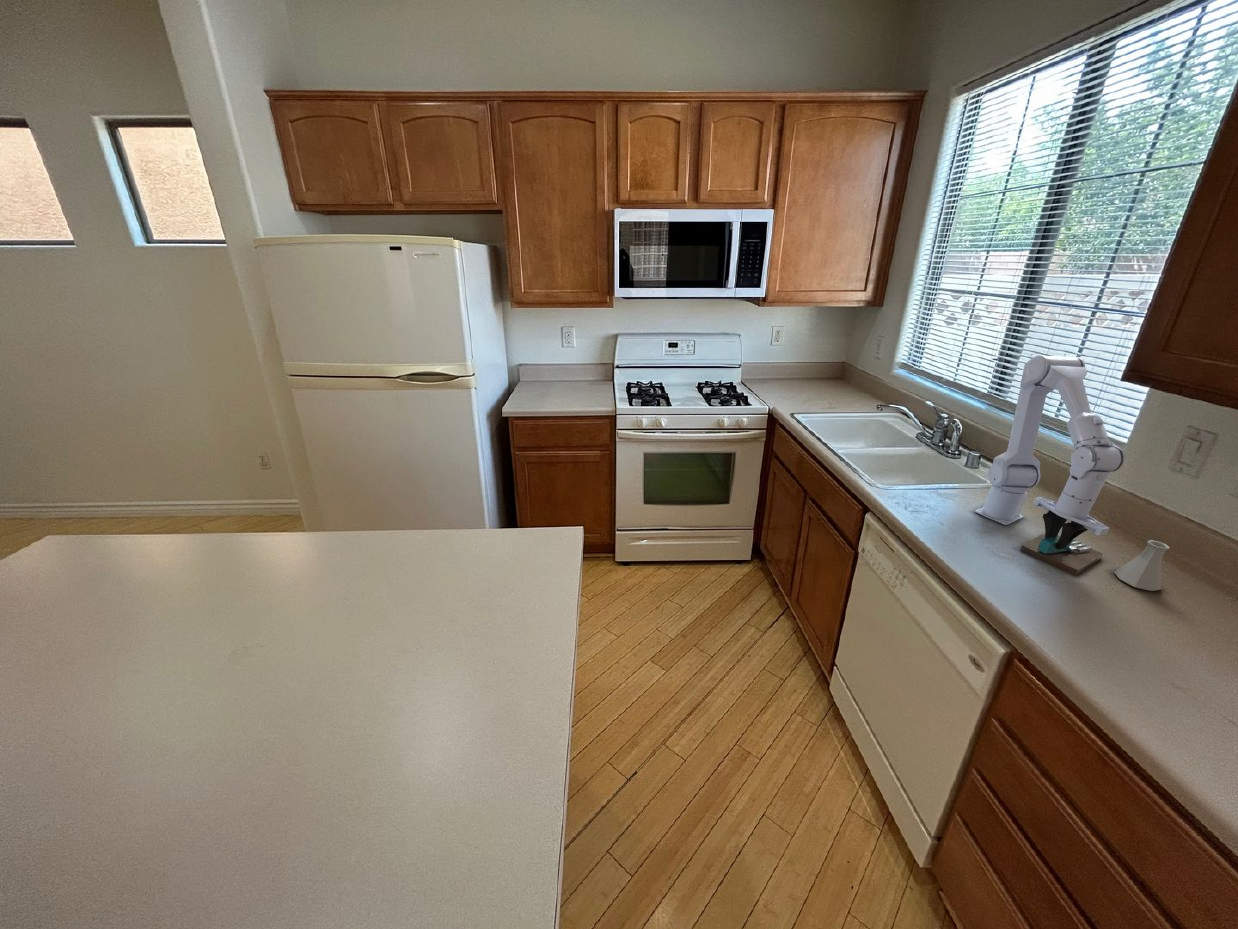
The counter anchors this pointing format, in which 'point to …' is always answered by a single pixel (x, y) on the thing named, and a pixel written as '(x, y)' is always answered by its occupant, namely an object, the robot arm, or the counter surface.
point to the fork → (1050, 547)
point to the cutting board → (1063, 556)
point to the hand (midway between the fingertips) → (1054, 545)
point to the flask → (1144, 567)
